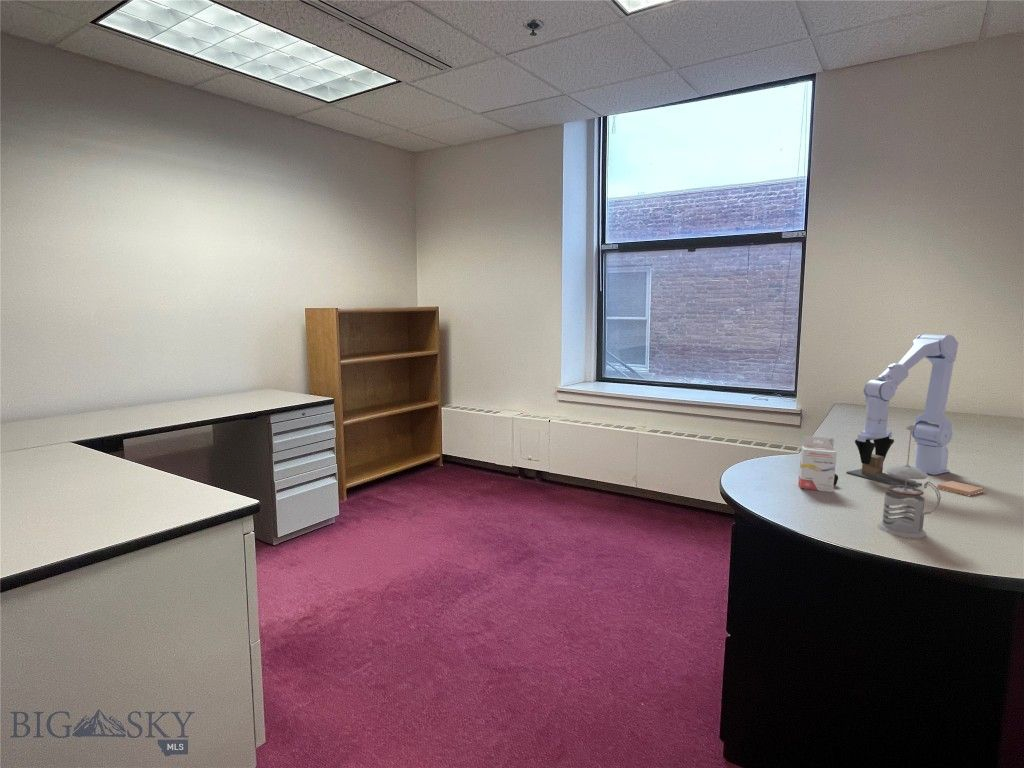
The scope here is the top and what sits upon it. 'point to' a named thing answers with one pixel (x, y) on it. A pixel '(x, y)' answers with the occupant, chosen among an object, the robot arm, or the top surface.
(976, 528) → the top surface
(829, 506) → the top surface
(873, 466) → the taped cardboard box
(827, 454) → the ink cartridge box
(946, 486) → the tile
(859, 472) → the tool mat
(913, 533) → the french press
